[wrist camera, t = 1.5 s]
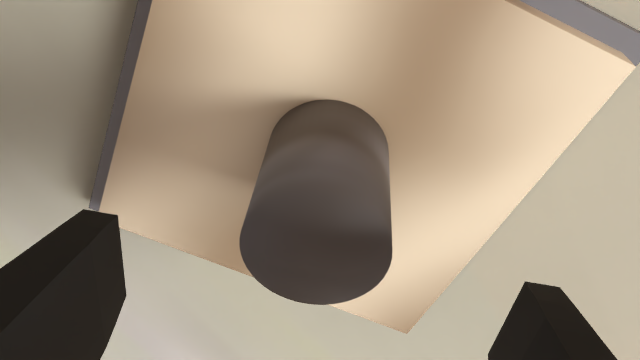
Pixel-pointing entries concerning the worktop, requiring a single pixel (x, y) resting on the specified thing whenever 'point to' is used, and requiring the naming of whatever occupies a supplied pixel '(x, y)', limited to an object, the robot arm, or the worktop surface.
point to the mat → (556, 3)
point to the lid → (348, 138)
